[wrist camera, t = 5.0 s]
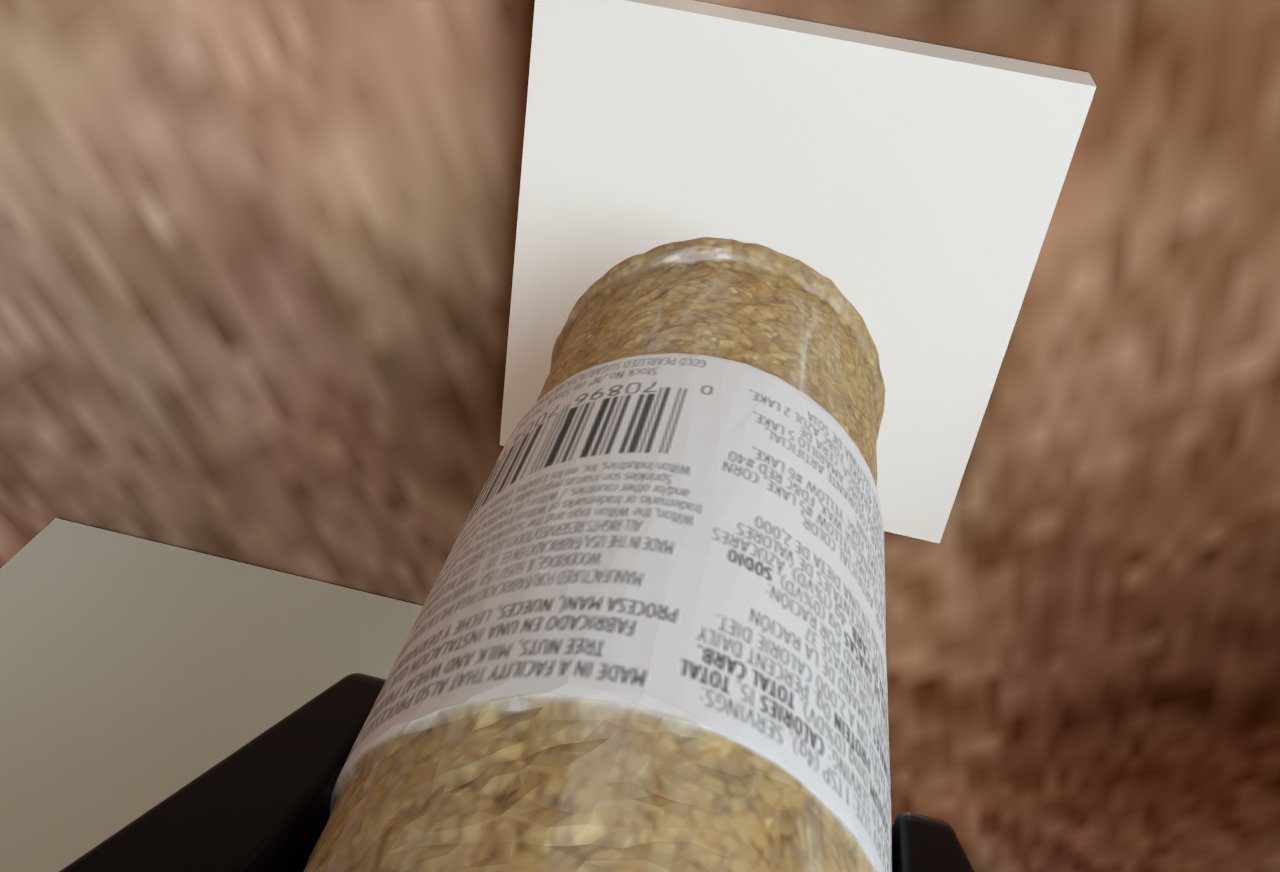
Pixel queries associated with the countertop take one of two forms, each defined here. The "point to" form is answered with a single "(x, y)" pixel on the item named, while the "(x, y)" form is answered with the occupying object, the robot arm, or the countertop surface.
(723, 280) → the seasoning jar
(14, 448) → the countertop surface
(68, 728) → the pale green board
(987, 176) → the tile pad
